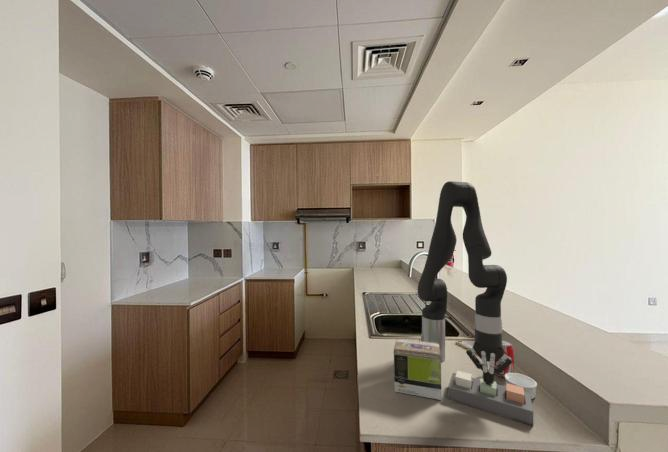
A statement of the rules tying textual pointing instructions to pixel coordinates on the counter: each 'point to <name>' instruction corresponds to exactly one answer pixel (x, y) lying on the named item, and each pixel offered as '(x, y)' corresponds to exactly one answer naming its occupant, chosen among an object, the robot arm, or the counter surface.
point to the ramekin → (522, 382)
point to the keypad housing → (491, 401)
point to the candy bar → (463, 345)
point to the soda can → (510, 353)
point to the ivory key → (464, 379)
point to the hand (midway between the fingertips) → (488, 383)
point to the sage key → (488, 388)
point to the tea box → (417, 368)
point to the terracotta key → (515, 393)
